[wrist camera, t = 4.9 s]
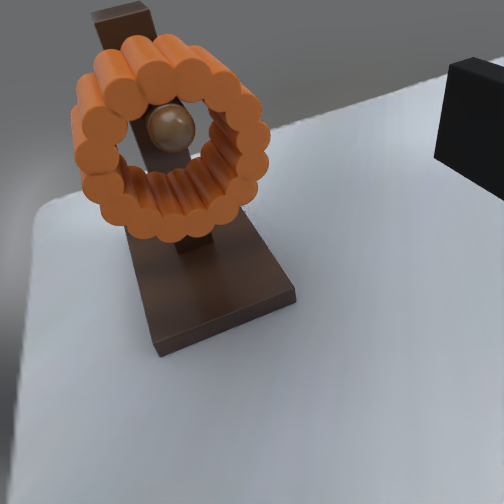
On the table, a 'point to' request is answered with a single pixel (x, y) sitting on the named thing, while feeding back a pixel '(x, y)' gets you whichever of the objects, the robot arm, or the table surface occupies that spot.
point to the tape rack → (189, 248)
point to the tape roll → (178, 180)
